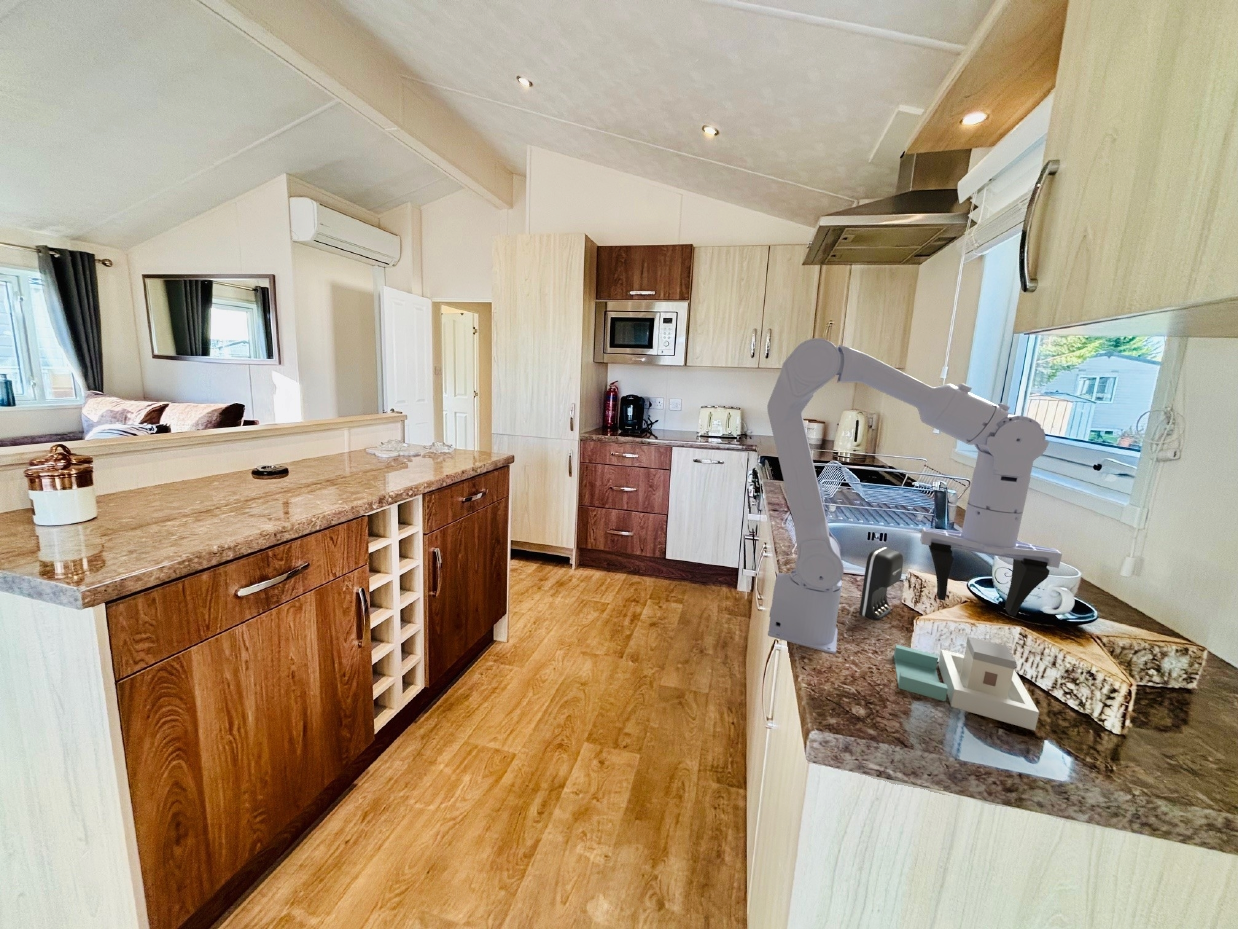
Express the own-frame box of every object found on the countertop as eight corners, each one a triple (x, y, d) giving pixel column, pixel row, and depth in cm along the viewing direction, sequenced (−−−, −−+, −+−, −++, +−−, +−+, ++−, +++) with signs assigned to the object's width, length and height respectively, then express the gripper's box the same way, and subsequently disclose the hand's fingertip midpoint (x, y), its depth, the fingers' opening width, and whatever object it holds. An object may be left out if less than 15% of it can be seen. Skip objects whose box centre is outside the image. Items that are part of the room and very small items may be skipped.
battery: (881, 625, 77) (892, 559, 75) (857, 616, 80) (867, 551, 78) (897, 613, 82) (908, 550, 80) (874, 605, 85) (883, 544, 83)
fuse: (965, 695, 59) (974, 651, 58) (959, 677, 63) (967, 636, 62) (1006, 706, 57) (1016, 661, 56) (997, 688, 61) (1006, 645, 60)
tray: (950, 708, 57) (954, 689, 57) (937, 666, 66) (941, 649, 66) (1034, 732, 54) (1039, 712, 54) (1009, 684, 63) (1012, 667, 62)
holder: (944, 703, 58) (947, 688, 58) (898, 690, 60) (900, 675, 60) (934, 667, 66) (936, 654, 66) (893, 657, 68) (895, 644, 68)
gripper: (932, 504, 61) (914, 602, 63) (1080, 525, 55) (1054, 633, 57) (926, 494, 67) (910, 583, 70) (1058, 511, 61) (1036, 610, 63)
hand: (974, 604), depth 64 cm, fingers open, 7 cm apart
